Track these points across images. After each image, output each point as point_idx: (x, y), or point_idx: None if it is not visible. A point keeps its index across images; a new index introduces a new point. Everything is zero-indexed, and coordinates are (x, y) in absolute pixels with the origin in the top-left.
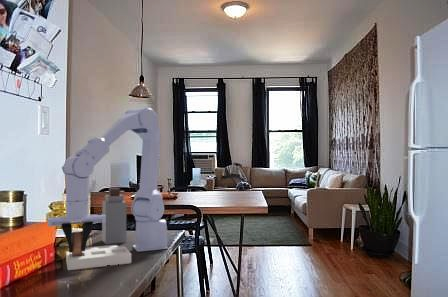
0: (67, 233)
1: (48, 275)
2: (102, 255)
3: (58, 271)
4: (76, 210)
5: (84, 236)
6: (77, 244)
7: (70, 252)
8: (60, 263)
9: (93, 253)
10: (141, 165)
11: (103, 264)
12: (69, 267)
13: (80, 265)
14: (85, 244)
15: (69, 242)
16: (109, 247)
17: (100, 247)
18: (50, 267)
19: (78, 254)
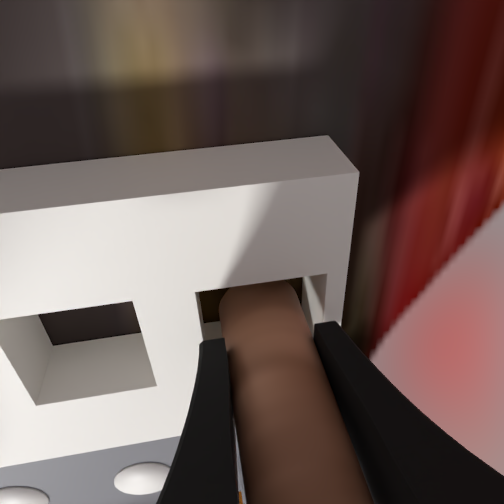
0: (481, 494)
1: (494, 26)
2: (11, 264)
3: (397, 128)
4: None
5: (222, 478)
6: (287, 385)
7: (329, 321)
8: (350, 316)
9: (133, 377)
10: None
11: (9, 174)
12: (321, 146)
13: (228, 159)
14: (200, 389)
15: (383, 393)
16: (43, 494)
17: (109, 498)
18: (423, 248)
19: (256, 306)
